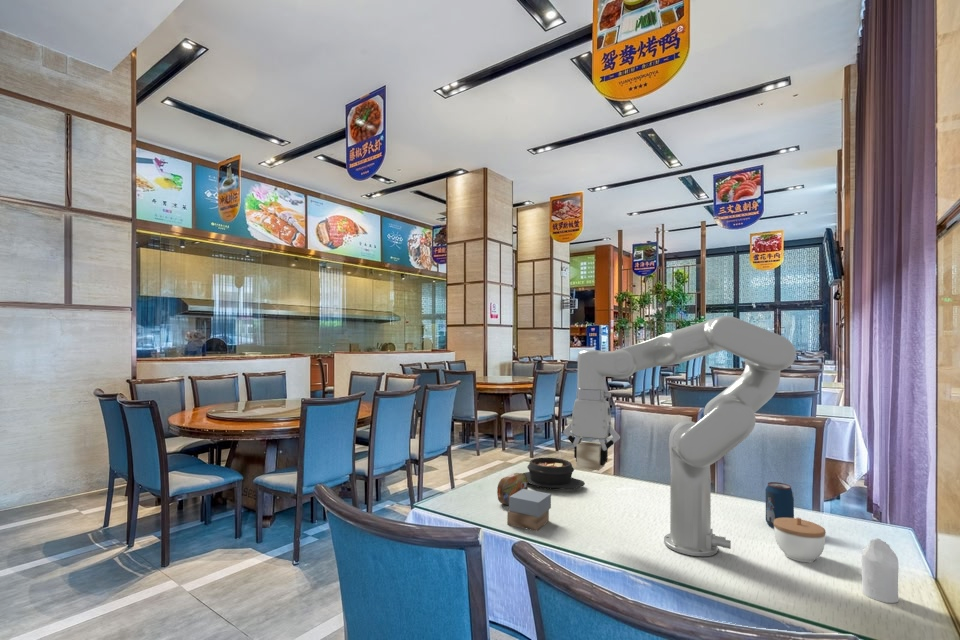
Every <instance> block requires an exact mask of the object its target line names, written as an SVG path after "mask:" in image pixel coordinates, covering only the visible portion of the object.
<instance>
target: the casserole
mask: <svg viewBox="0 0 960 640" xmlns="http://www.w3.org/2000/svg"><path fill="white" fill-rule="evenodd" d="M526 467H527V469H528V471H527V472H523V474H525V475H526V477H527V480H528V484H531V485H532V486H536V487H537V488H540V487H541V489H544V488H546V490H561V489H563V490H575V489H580V488H582V487H584V486H585V484H586V483H585V482H584V480H582V479H578V478H574V477H572V475H573V472H574V470H575V469H574V467H573V465H572V462H570V461H569V460H566V459H561V458H558V457H557V458H556V457H536V458H532V459H531V460H530V461H529V464H528V465H527V466H526Z"/></svg>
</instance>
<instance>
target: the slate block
mask: <svg viewBox="0 0 960 640" xmlns="http://www.w3.org/2000/svg"><path fill="white" fill-rule="evenodd" d="M551 508H552V494H551V493H548V492H543V491H538V490H537V491H535V490H532V489H531V490H530V489H522V490H520V491H518V492H516V493H515V494H513V495H511V496H510V497H509V505H508V511H511V512H516V513H521V514H525V515H530V516H535V517H539V516H541V515H542V514H543V513H545V512H546V511H547V510H549V511H550V509H551Z"/></svg>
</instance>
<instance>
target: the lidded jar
mask: <svg viewBox="0 0 960 640" xmlns="http://www.w3.org/2000/svg"><path fill="white" fill-rule="evenodd" d="M773 531H774V533H773V534H774V538H775V542H776V544H777V546H778V547H779V549H780V551H782V552H783V554H784V556H785V557H787V558H789V559H790V560H793V561H796V562H800V563H801V562H802V563H814V562H815V560H817V559H818V558H819V557H821V555H822V553H823V552H824V549H825V545H826V529H825V528H824V527H823V526H821V524H820V525H819V524H817V523H815V522H812V521H810V520H806V519H802V518H801V517H796V518H795V517H794V518H776V519H775V520H774V529H773Z"/></svg>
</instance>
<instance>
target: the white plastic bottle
mask: <svg viewBox="0 0 960 640" xmlns="http://www.w3.org/2000/svg"><path fill="white" fill-rule="evenodd" d="M894 551H895V550H893V549H892V548H891V546H890V544H888V543H887V542H886V541H885V540H884V541H883V540H882V539H881V538H875V539H870V540H869V543H868V545H867V546H865V547H864V548H863V549H862V550H861V584H862V585H861V586H862V587H861V590H862V594H863V595H864V596H866V597H868V598H870V599H872V600H875V601H878V602H881V603H886V604H896V603H898V602H899V560H898V559H899V558H898V556H897V554H896V553H895V552H894Z"/></svg>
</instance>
